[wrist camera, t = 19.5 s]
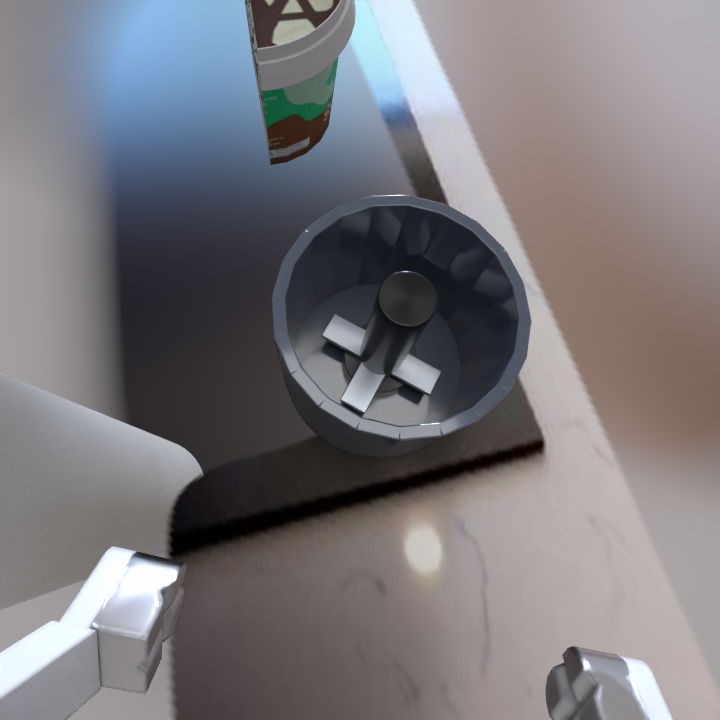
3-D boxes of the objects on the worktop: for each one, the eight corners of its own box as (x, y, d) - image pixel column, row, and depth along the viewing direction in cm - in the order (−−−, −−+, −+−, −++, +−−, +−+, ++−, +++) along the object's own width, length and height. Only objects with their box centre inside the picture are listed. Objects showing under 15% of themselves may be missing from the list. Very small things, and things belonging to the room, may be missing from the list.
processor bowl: (246, 353, 30) (217, 291, 21) (383, 248, 33) (409, 153, 24) (370, 499, 29) (397, 499, 19) (503, 374, 31) (581, 323, 22)
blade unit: (298, 382, 29) (290, 326, 20) (354, 288, 31) (373, 196, 22) (402, 441, 29) (447, 412, 19) (453, 341, 31) (516, 271, 22)
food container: (360, 174, 35) (379, 49, 25) (273, 183, 34) (258, 58, 24) (330, 37, 38) (336, -120, 28) (250, 43, 37) (228, -118, 27)
